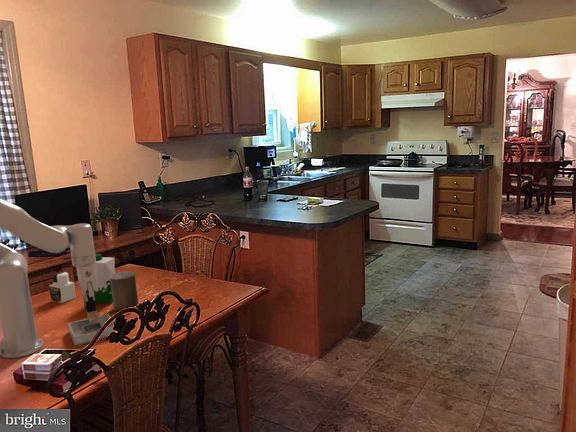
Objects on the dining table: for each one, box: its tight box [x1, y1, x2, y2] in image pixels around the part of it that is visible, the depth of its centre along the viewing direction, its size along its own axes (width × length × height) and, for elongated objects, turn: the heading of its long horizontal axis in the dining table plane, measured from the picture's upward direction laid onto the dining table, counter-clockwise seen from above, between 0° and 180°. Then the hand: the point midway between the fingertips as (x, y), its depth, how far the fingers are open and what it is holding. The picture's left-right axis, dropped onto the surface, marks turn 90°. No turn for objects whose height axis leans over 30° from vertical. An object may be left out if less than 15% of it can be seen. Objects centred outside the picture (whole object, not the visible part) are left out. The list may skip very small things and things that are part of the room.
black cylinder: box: [81, 291, 99, 324], centre depth 162 cm, size 3×3×12 cm
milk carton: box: [93, 253, 116, 305], centre depth 194 cm, size 9×9×20 cm
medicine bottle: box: [48, 271, 77, 304], centre depth 198 cm, size 7×7×12 cm
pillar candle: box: [110, 271, 139, 312], centre depth 187 cm, size 10×10×15 cm
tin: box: [67, 313, 115, 348], centre depth 164 cm, size 14×14×4 cm
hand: (90, 309), depth 162 cm, fingers closed on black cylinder, 3 cm apart
